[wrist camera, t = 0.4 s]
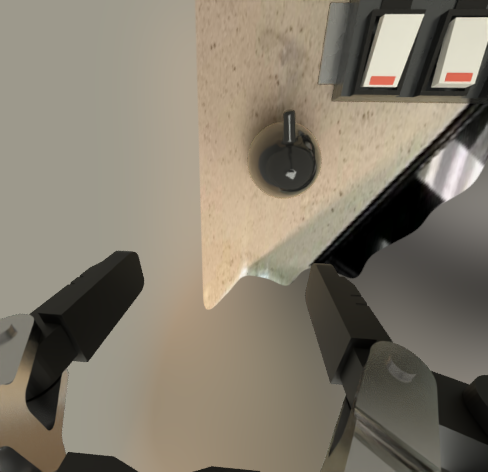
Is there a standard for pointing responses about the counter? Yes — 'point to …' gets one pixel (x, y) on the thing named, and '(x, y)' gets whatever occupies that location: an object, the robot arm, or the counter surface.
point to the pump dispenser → (284, 158)
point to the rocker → (390, 49)
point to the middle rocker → (461, 52)
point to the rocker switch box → (419, 60)
